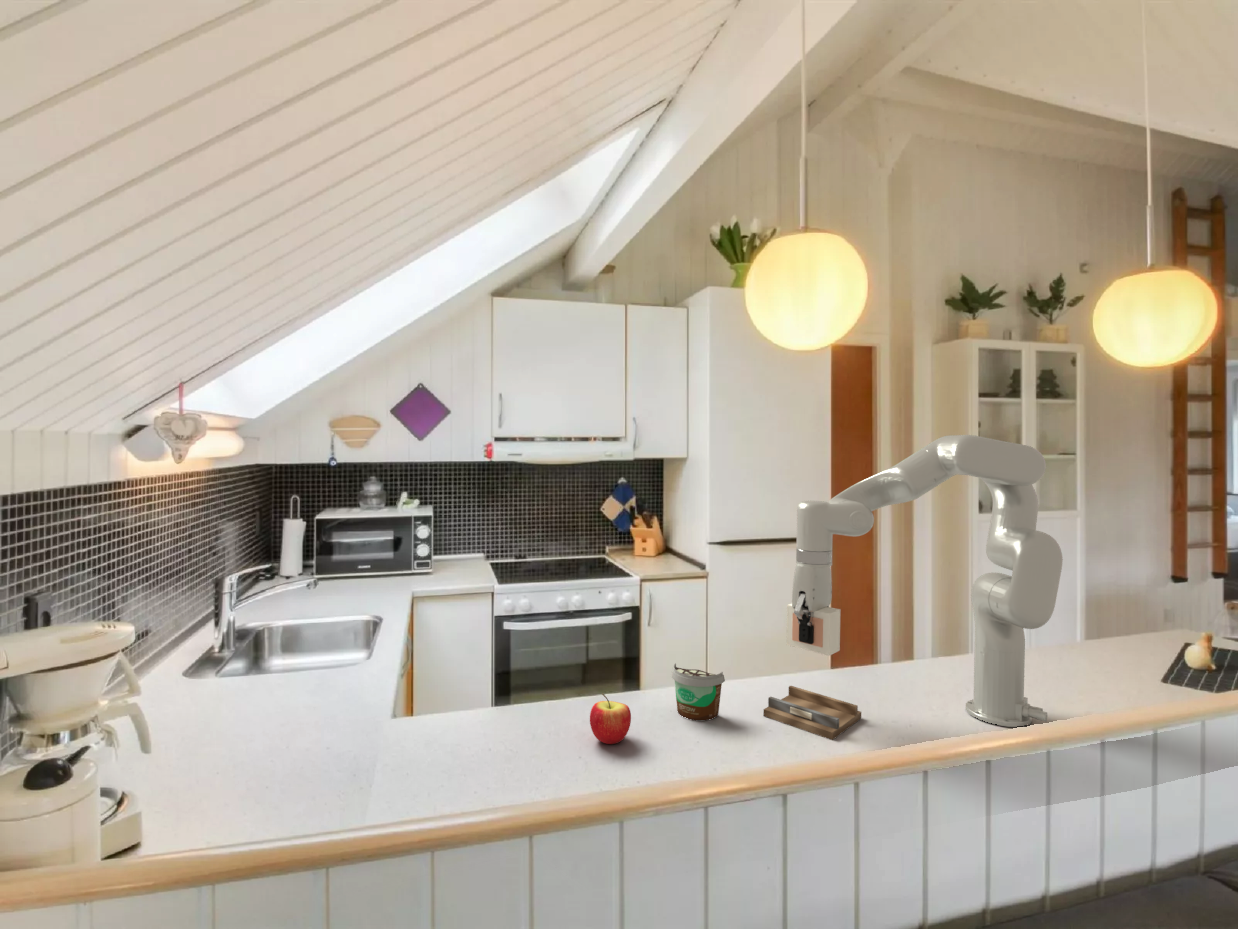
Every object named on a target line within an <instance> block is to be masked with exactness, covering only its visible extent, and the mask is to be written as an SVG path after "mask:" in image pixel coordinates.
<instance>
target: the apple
mask: <svg viewBox="0 0 1238 929" xmlns="http://www.w3.org/2000/svg"><path fill="white" fill-rule="evenodd" d="M601 695H602V696H603V697H604V698H605V700H600V701H597V702H595V703H594V704H593V705H592V707H591V709H590V713H589V724H590V729H591V731H592V733H593V735H594V737H595V738H596V739H597V741H600V743H603V744H605V745H614V744H615V745H616V744H618V743H620V742H621V741H623V740H624V739H625V737H626V736H627V734H628V732H629V731H630V727H631V723H632V722H631V721H632V713H631V709H630V707H629V706H628V705H627V704H625V703H622V702H618V701H613V700H609V698H607V696H606V695H605V694H604V693H603V692H602V693H601Z"/></svg>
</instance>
